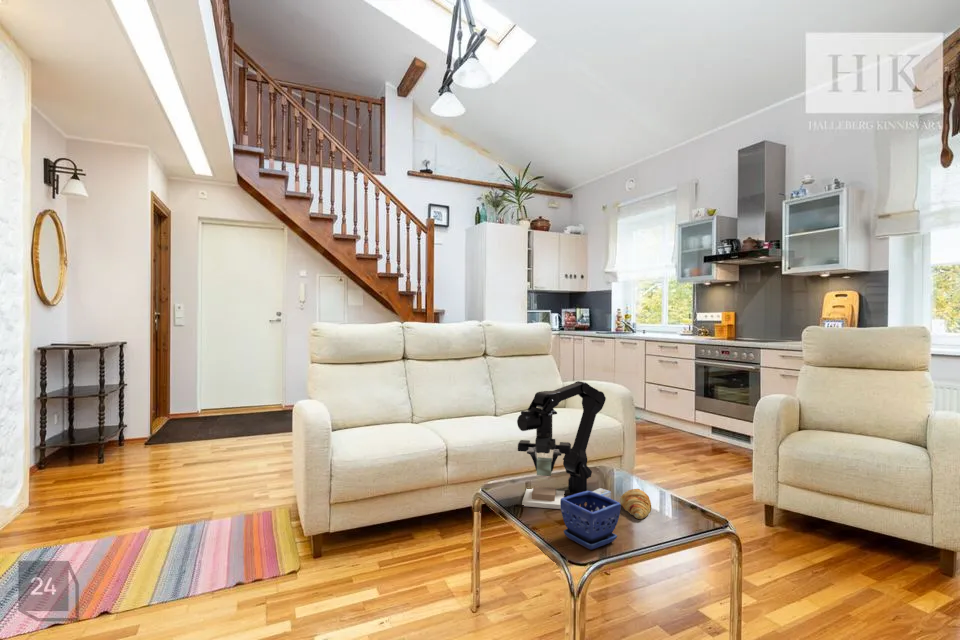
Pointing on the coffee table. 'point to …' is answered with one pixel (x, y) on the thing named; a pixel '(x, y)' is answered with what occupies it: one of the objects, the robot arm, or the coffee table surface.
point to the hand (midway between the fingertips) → (544, 470)
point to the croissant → (636, 503)
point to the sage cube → (544, 466)
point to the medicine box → (602, 492)
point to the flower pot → (590, 518)
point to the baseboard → (542, 502)
